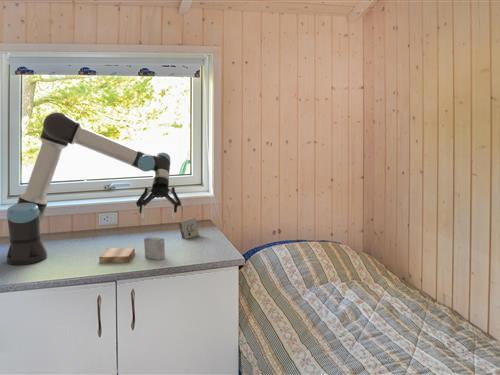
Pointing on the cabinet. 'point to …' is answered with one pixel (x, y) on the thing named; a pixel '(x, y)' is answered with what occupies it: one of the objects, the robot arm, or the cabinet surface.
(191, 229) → the electrical switch
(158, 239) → the grey curved block
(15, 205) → the robot arm
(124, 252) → the plinth
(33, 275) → the cabinet surface
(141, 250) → the cabinet surface
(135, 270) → the cabinet surface
